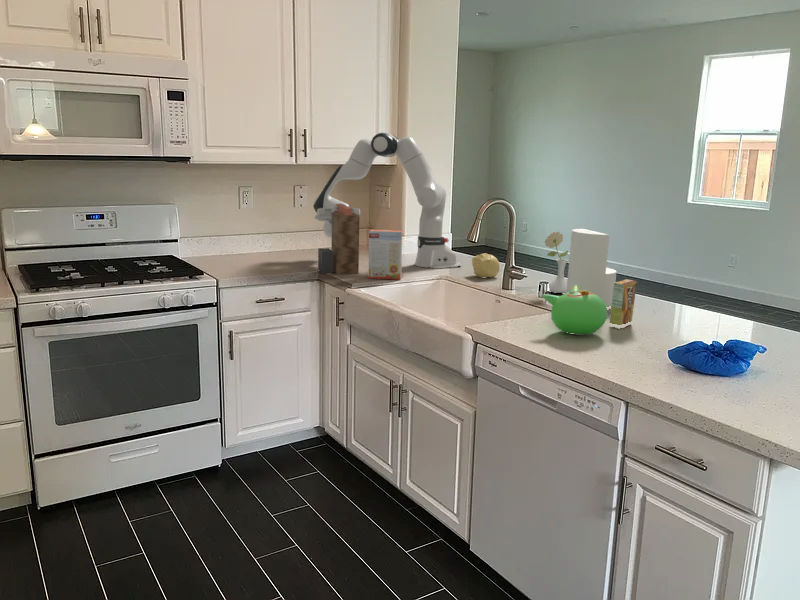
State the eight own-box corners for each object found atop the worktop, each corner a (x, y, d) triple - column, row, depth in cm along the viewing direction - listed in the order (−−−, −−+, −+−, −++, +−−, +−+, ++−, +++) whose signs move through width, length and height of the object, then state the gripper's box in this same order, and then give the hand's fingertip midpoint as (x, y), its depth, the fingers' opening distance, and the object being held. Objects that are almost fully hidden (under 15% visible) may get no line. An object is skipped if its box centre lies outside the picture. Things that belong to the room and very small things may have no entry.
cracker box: (401, 277, 295) (403, 230, 290) (400, 280, 289) (401, 231, 284) (369, 276, 296) (371, 228, 292) (367, 278, 290) (369, 230, 286)
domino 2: (330, 271, 304) (330, 249, 302) (331, 272, 302) (331, 250, 300) (319, 271, 303) (319, 249, 300) (320, 272, 301) (320, 250, 299)
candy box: (620, 322, 230) (625, 278, 226) (632, 325, 227) (637, 280, 224) (608, 327, 223) (613, 282, 220) (620, 330, 221) (625, 284, 217)
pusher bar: (342, 210, 313) (342, 203, 312) (351, 215, 294) (351, 208, 294) (336, 210, 312) (336, 203, 312) (345, 215, 294) (345, 208, 293)
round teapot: (578, 344, 203) (582, 296, 200) (536, 330, 216) (540, 286, 213) (615, 336, 213) (620, 290, 210) (573, 323, 227) (577, 281, 223)
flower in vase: (570, 290, 280) (575, 230, 274) (576, 296, 268) (582, 234, 263) (538, 289, 280) (543, 229, 274) (543, 295, 269) (548, 233, 263)
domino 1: (328, 270, 307) (329, 248, 305) (329, 270, 306) (329, 248, 303) (318, 270, 306) (318, 248, 304) (318, 270, 304) (318, 249, 302)
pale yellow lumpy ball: (467, 275, 306) (468, 251, 304) (490, 274, 310) (492, 250, 308) (479, 280, 296) (480, 255, 293) (503, 278, 300) (504, 255, 298)
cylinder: (580, 312, 243) (588, 234, 237) (556, 301, 260) (563, 228, 253) (622, 310, 248) (630, 234, 242) (596, 299, 264) (603, 228, 258)
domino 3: (331, 272, 301) (332, 250, 298) (332, 273, 299) (332, 251, 297) (320, 273, 299) (320, 250, 297) (321, 273, 298) (321, 251, 296)
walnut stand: (352, 268, 313) (353, 212, 307) (358, 273, 301) (359, 215, 295) (331, 269, 310) (331, 212, 304) (336, 273, 298) (337, 215, 293)
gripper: (313, 213, 318) (318, 200, 306) (356, 213, 324) (362, 200, 311) (314, 225, 317) (319, 213, 304) (357, 225, 323) (363, 213, 310)
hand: (341, 207), depth 308 cm, fingers closed on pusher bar, 3 cm apart
